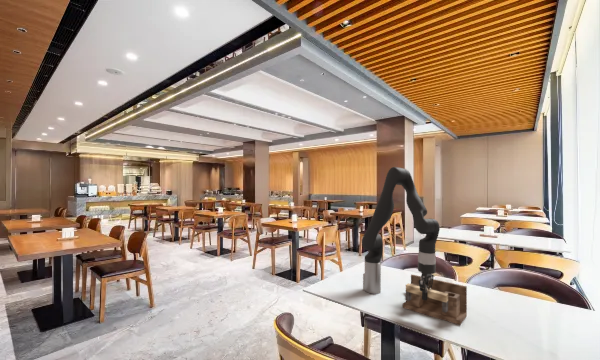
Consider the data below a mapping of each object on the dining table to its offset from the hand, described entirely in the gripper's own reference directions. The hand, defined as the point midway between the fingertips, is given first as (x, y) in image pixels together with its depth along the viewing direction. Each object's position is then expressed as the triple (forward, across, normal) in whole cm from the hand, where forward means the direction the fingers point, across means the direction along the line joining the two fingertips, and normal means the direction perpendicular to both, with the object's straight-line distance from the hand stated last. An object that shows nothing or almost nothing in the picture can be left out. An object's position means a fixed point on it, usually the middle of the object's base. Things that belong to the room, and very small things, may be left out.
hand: (426, 298), depth 131 cm
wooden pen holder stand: (+9, -10, 0) cm, 14 cm away
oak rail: (+3, 0, 0) cm, 3 cm away
